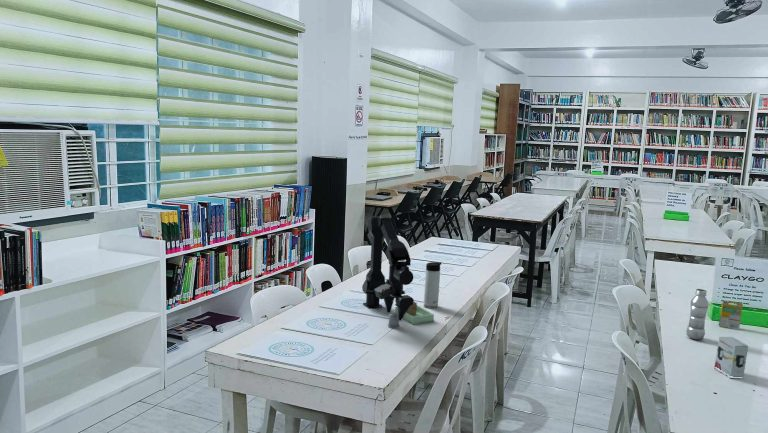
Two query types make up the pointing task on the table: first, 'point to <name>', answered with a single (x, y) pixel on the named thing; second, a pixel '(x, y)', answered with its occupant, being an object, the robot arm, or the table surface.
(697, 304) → the plastic bottle
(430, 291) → the travel mug
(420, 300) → the table surface
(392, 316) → the grey domed knob
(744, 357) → the ink box
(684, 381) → the table surface
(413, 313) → the walnut block
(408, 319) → the parts tray
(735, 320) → the crayon box
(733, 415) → the table surface
